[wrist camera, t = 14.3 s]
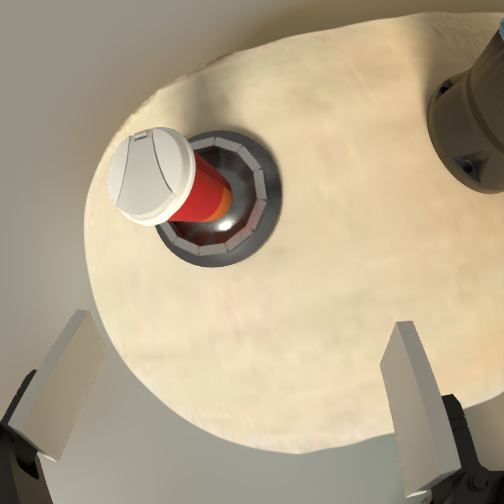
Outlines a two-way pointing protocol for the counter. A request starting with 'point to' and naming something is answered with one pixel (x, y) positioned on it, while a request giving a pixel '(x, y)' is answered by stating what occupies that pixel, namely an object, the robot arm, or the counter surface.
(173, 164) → the paper cup
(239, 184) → the rosette plate
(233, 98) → the counter surface
